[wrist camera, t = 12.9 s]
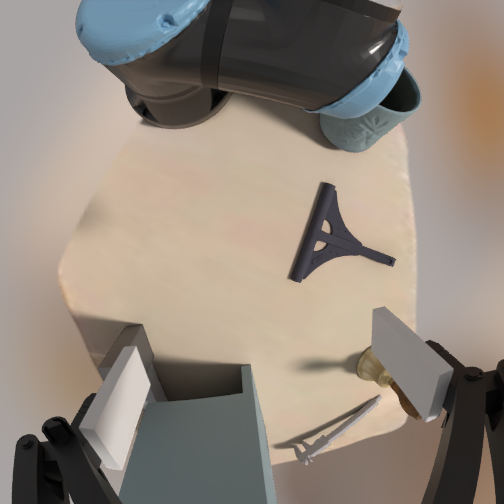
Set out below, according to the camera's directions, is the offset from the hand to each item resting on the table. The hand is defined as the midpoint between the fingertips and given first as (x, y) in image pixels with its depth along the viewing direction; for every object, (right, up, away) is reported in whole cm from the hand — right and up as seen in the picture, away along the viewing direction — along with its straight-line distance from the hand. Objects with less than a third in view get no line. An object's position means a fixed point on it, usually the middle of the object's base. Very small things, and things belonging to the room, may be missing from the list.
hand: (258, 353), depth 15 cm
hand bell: (+22, -14, +32) cm, 42 cm away
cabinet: (-7, -22, +32) cm, 39 cm away
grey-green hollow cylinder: (+13, +23, +23) cm, 34 cm away
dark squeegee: (+14, +6, +28) cm, 32 cm away
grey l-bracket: (-17, -16, +30) cm, 37 cm away
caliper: (+17, -29, +35) cm, 48 cm away
